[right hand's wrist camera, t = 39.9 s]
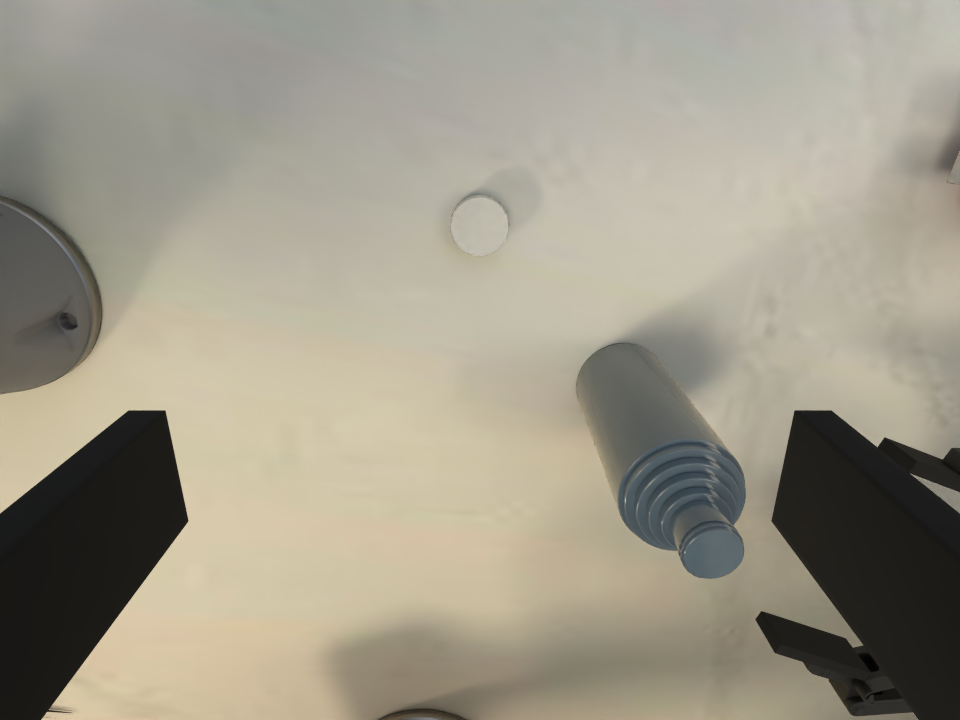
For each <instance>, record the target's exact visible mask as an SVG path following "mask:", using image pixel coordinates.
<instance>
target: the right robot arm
mask: <svg viewBox="0 0 960 720" xmlns="http://www.w3.org/2000/svg"><path fill="white" fill-rule="evenodd" d="M100 323H101V305H100V298H99V293H98V289H97V286H96V283H95V280H94V277H93V275H92V273H91V271H90V268H89V267H88V265H87V263H86V261H85V259H84V258H83V256H82V255H81V253H80V252H79V250H78V249H77V248H76V247H75V245H74V244H73V243H72V242H71V240H70V239H69V238H68V237H67V236H66V235H65V234H64V233H63V232H62V231H61V230H60V229H59V228H58V227H57V226H55V225H54V224H53V223H52V222H50V221H49V220H48V219H47V218H45V217H44V216H42V215H41V214H39V213H38V212H36V211H34V210H32V209H31V208H29V207H27V206H25V205H23V204H21V203H19V202H16V201H14V200H11V199H8V198H5V197H2V196H0V394H5V393H12V392H19V391H25V390H30V389H33V388H37V387H40V386H42V385H46V384H48V383H51V382H53V381H55V380H57V379H58V378H60V377H62V376H64V375H65V374H67V373H69V372H70V371H72V370H73V369H75V368H76V367H77V366H79V365H80V364H81V363H82V362H83V361H84V360H85V358H86V357H87V356H88V355H89V353H90V352H91V350H92V348H93V346H94V344H95V342H96V340H97V337H98V333H99V329H100ZM187 522H188V517H187V512H186V507H185V502H184V498H183V493H182V488H181V483H180V478H179V474H178V469H177V464H176V459H175V454H174V450H173V445H172V440H171V435H170V430H169V426H168V421H167V416H166V411H127V412H126V413H125V414H124V415H122V416H121V417H120V418H119V419H118V420H116V421H115V422H114V423H113V424H111V425H110V426H109V427H108V428H106V429H105V430H104V431H103V432H101V433H100V434H99V435H98V436H96V437H95V438H94V439H93V440H91V441H90V442H89V443H88V444H86V445H85V446H84V447H83V448H81V449H80V450H79V451H78V452H76V453H75V454H74V455H73V456H71V457H70V458H69V459H68V460H66V461H65V462H64V463H63V464H62V465H60V466H59V467H58V468H57V469H55V470H54V471H53V472H52V473H50V474H49V475H48V476H47V477H45V478H44V479H43V480H42V481H40V482H39V483H38V484H37V485H35V486H34V487H33V488H32V489H30V490H29V491H28V492H27V493H25V494H24V495H23V496H22V497H20V498H19V499H18V500H17V501H15V502H14V503H13V504H12V505H10V506H9V507H8V508H7V509H5V510H4V511H3V512H2V513H1V514H0V720H41V719H42V718H43V716H44V715H45V714H46V712H47V711H48V710H49V708H50V707H51V706H52V704H53V703H54V702H55V700H56V699H57V698H58V696H59V695H60V694H61V692H62V691H63V689H64V688H65V687H66V685H67V684H68V683H69V681H70V680H71V679H72V677H73V676H74V675H75V673H76V672H77V671H78V669H79V668H80V667H81V665H82V664H83V663H84V661H85V660H86V658H87V657H88V656H89V654H90V653H91V652H92V650H93V649H94V648H95V646H96V645H97V644H98V642H99V641H100V640H101V638H102V637H103V636H104V634H105V633H106V632H107V630H108V629H109V627H110V626H111V625H112V623H113V622H114V621H115V619H116V618H117V617H118V615H119V614H120V613H121V611H122V610H123V609H124V607H125V606H126V605H127V603H128V602H129V601H130V599H131V598H132V596H133V595H134V594H135V592H136V591H137V590H138V588H139V587H140V586H141V584H142V583H143V582H144V580H145V579H146V578H147V576H148V575H149V574H150V572H151V571H152V570H153V568H154V567H155V566H156V564H157V563H158V561H159V560H160V559H161V557H162V556H163V555H164V553H165V552H166V551H167V549H168V548H169V547H170V545H171V544H172V543H173V541H174V540H175V539H176V537H177V536H178V535H179V533H180V532H181V530H182V529H183V528H184V526H185V525H186V524H187ZM772 522H773V524H774V525H775V526H776V528H777V529H778V530H779V532H780V533H781V535H782V536H783V537H784V539H785V540H786V541H787V543H788V544H789V545H790V547H791V548H792V549H793V551H794V552H795V553H796V555H797V556H798V557H799V559H800V560H801V561H802V563H803V564H804V566H805V567H806V568H807V570H808V571H809V572H810V574H811V575H812V576H813V578H814V579H815V580H816V582H817V583H818V584H819V586H820V587H821V588H822V590H823V591H824V592H825V594H826V595H827V597H828V598H829V599H830V601H831V602H832V603H833V605H834V606H835V607H836V609H837V610H838V611H839V613H840V614H841V615H842V617H843V618H844V619H845V621H846V622H847V623H848V625H849V626H850V627H851V629H852V630H853V632H854V633H855V634H856V636H857V637H858V638H859V640H860V641H861V642H862V644H863V645H864V646H865V648H866V649H867V650H868V652H869V653H870V654H871V656H872V657H873V658H874V660H875V661H876V663H877V664H878V665H879V667H880V668H881V669H882V671H883V672H884V673H885V675H886V676H887V677H888V679H889V680H890V681H891V683H892V684H893V685H894V687H895V688H896V689H897V691H898V692H899V694H900V695H901V696H902V698H903V699H904V700H905V702H906V703H907V704H908V706H909V707H910V708H911V710H912V711H913V712H914V714H915V715H916V716H917V718H918V719H919V720H960V514H959V513H958V512H957V511H956V510H955V509H953V508H952V507H951V506H950V505H948V504H947V503H946V502H945V501H943V500H942V499H941V498H940V497H938V496H937V495H936V494H935V493H933V492H932V491H931V490H930V489H928V488H927V487H926V486H925V485H923V484H922V483H921V482H920V481H918V480H917V479H916V478H915V477H913V476H912V475H911V474H910V473H908V472H907V471H906V470H905V469H903V468H902V467H901V466H900V465H898V464H897V463H896V462H895V461H894V460H892V459H891V458H890V457H889V456H887V455H886V454H885V453H884V452H882V451H881V450H880V449H879V448H877V447H876V446H875V445H874V444H872V443H871V442H870V441H869V440H867V439H866V438H865V437H864V436H862V435H861V434H860V433H859V432H857V431H856V430H855V429H854V428H852V427H851V426H850V425H849V424H847V423H846V422H845V421H844V420H842V419H841V418H840V417H839V416H838V415H836V414H835V413H834V412H833V411H794V416H793V421H792V426H791V430H790V435H789V440H788V445H787V450H786V454H785V459H784V464H783V469H782V474H781V478H780V483H779V488H778V493H777V498H776V502H775V507H774V512H773V517H772Z"/></svg>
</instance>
